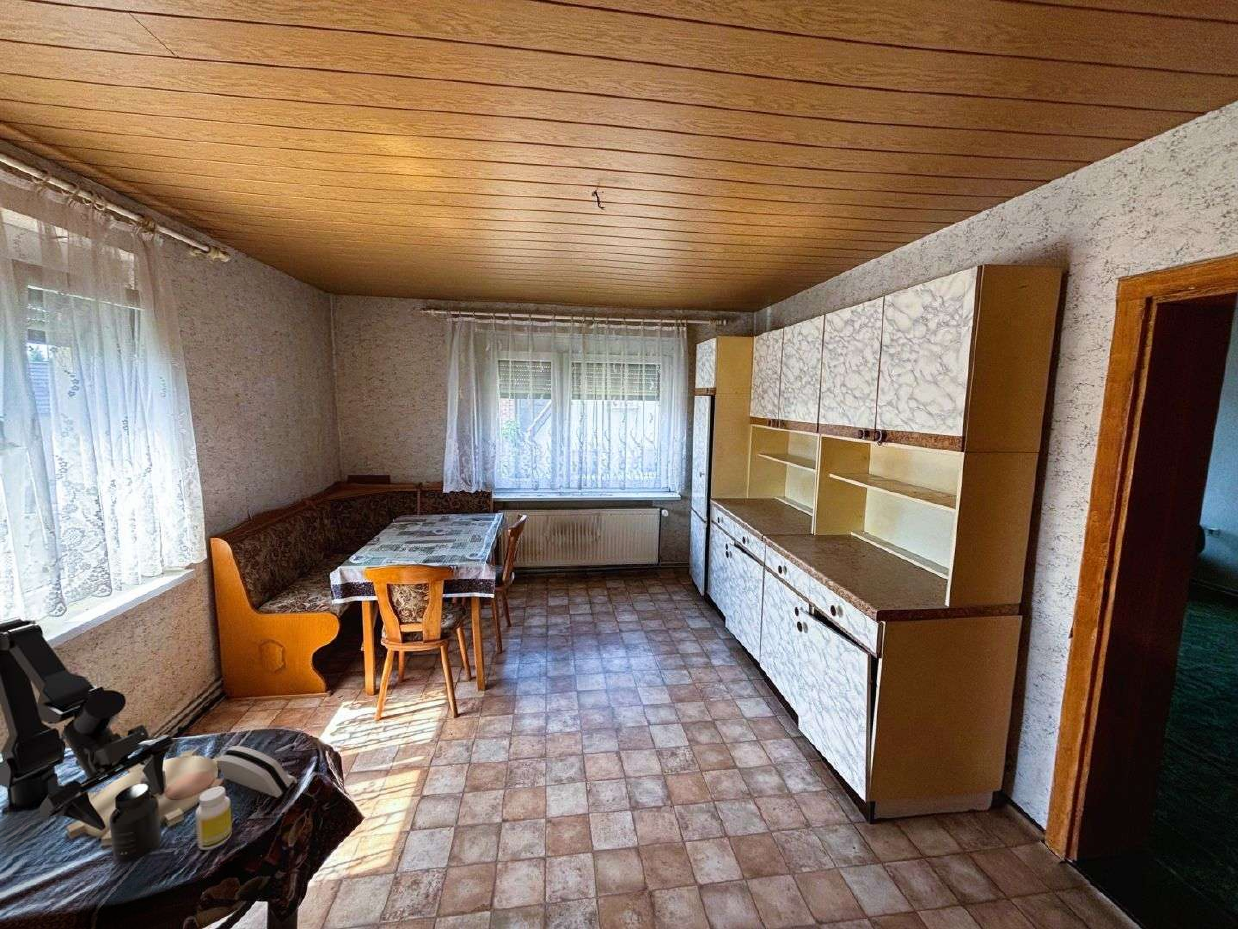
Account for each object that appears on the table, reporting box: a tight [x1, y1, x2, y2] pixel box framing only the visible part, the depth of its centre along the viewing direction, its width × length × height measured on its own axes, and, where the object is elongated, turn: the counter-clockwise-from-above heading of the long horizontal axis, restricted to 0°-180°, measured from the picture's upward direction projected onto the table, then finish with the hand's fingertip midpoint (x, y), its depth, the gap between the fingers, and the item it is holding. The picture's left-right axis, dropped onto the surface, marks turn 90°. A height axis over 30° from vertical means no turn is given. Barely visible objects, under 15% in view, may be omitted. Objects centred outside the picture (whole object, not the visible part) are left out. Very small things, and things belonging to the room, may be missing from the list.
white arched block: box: [217, 745, 298, 798], centre depth 116 cm, size 17×5×10 cm, turn 71°
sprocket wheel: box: [66, 749, 226, 847], centre depth 113 cm, size 26×26×4 cm
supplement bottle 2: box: [195, 786, 233, 851], centre depth 101 cm, size 5×5×10 cm
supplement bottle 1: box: [110, 783, 162, 864], centre depth 99 cm, size 7×7×12 cm
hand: (134, 810), depth 99 cm, fingers open, 9 cm apart
